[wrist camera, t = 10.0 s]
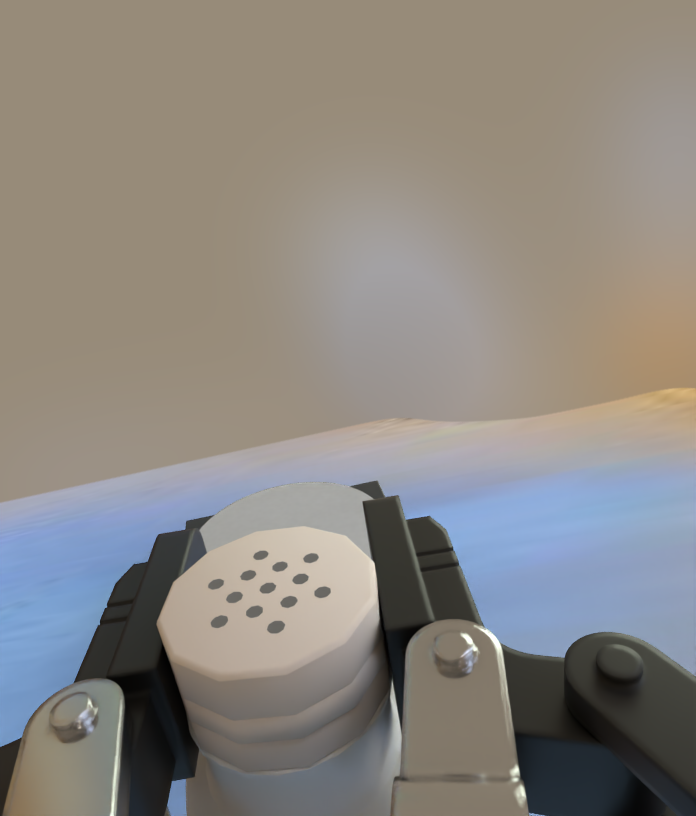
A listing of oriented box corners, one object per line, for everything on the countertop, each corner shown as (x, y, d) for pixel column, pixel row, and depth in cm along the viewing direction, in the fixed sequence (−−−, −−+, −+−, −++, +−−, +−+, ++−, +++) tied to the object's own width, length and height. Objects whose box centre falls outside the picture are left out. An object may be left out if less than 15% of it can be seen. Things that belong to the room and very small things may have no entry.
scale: (382, 513, 40) (374, 459, 38) (440, 648, 29) (433, 580, 27) (189, 555, 38) (173, 501, 37) (173, 714, 27) (149, 646, 26)
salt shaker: (249, 889, 14) (135, 547, 10) (414, 829, 15) (362, 489, 11) (274, 1139, 10) (112, 750, 7) (490, 1043, 11) (452, 643, 7)
